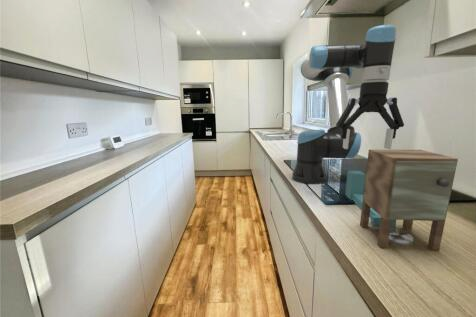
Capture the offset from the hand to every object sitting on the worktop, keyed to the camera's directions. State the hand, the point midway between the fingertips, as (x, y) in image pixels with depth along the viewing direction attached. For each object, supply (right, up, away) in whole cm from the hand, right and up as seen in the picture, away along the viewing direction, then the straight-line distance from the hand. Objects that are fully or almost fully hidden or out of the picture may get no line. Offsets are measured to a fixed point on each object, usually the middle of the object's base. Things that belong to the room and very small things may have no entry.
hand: (366, 148), depth 75 cm
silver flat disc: (-2, -24, -18) cm, 30 cm away
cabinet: (-2, -24, -17) cm, 29 cm away
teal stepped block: (-1, -20, -1) cm, 20 cm away
